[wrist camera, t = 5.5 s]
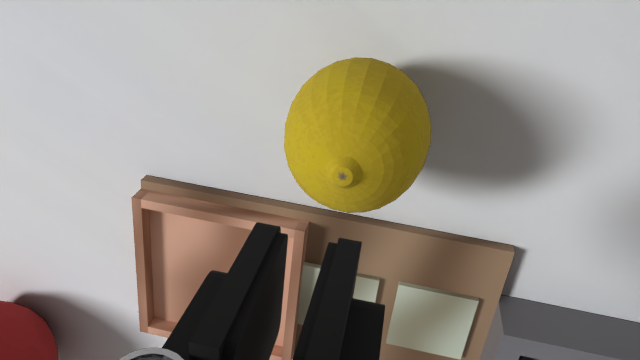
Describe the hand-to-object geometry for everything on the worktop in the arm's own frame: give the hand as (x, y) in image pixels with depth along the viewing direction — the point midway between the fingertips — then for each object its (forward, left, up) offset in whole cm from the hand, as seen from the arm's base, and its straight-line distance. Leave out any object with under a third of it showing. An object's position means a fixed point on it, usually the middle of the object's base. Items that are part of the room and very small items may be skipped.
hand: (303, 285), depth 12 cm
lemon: (0, 0, -14) cm, 14 cm away
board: (+1, +11, -13) cm, 17 cm away
